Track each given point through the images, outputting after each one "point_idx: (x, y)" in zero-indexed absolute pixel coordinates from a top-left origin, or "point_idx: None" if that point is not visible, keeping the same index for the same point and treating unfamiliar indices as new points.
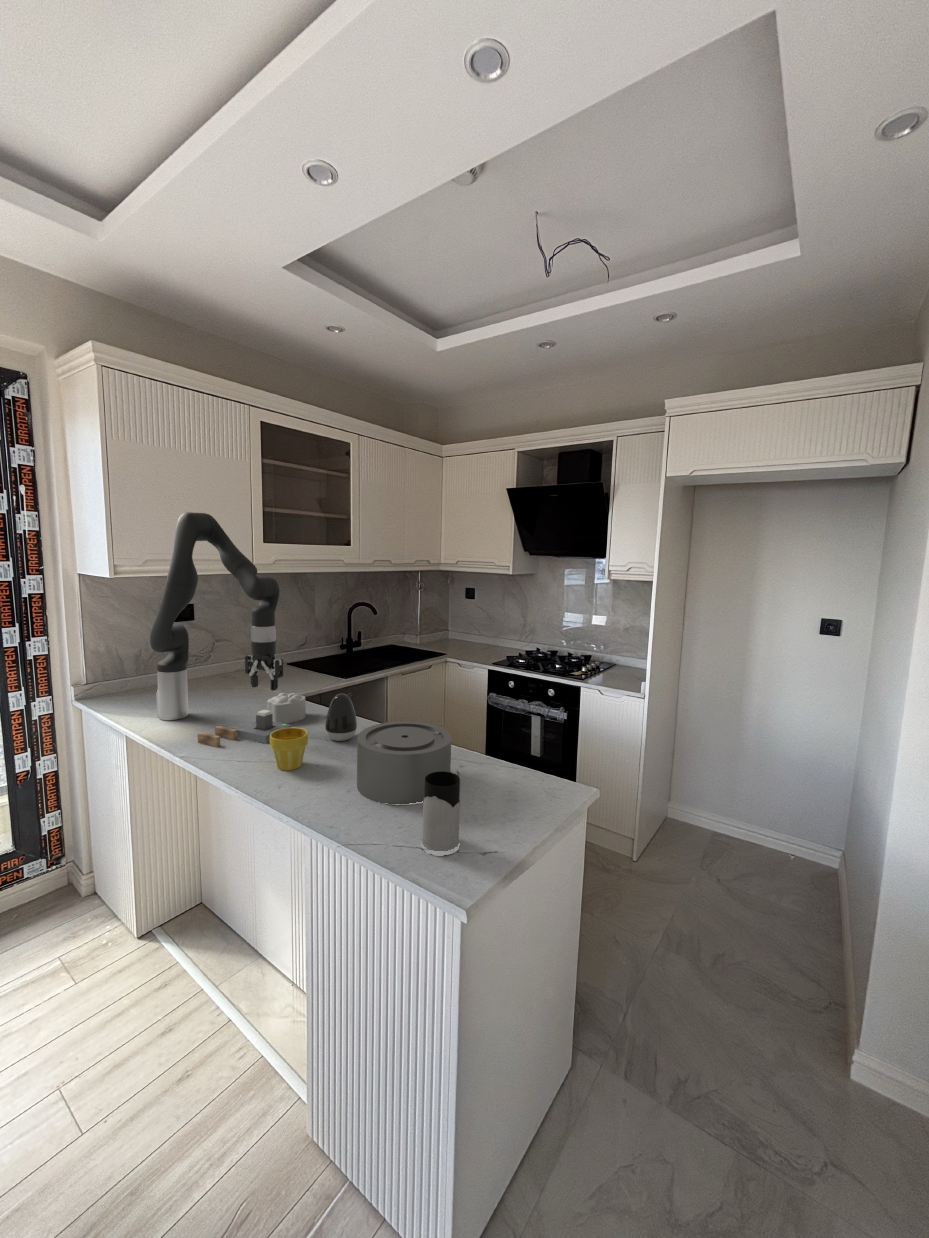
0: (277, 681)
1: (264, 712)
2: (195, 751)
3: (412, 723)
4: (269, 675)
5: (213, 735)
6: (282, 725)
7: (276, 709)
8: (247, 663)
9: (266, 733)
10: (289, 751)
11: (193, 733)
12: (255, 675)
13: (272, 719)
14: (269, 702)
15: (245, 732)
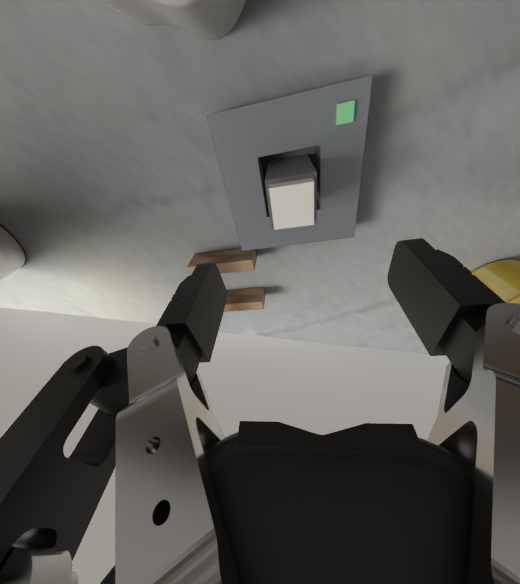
0: (491, 296)
1: (304, 216)
2: (254, 319)
3: None
4: (442, 401)
5: (245, 305)
6: (342, 124)
7: (201, 15)
8: (83, 525)
9: (340, 221)
10: None
11: (151, 277)
12: (189, 345)
13: (313, 166)
14: None
15: (274, 245)
